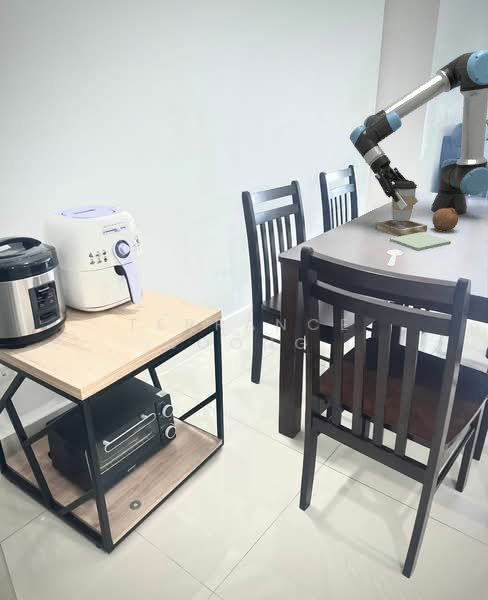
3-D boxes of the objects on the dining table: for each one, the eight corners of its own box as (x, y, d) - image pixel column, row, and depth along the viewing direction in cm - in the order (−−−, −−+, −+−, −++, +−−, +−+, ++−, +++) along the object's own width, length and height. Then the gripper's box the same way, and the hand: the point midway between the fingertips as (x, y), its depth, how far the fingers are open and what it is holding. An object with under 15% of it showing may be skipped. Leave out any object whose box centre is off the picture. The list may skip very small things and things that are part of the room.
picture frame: (401, 223, 187) (401, 218, 186) (426, 231, 175) (427, 225, 174) (375, 228, 182) (375, 222, 180) (399, 236, 170) (400, 230, 169)
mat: (421, 234, 172) (421, 232, 171) (450, 243, 160) (450, 241, 160) (389, 240, 166) (389, 238, 165) (417, 250, 154) (418, 248, 154)
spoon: (381, 266, 142) (382, 264, 142) (388, 249, 157) (388, 248, 157) (399, 268, 140) (399, 266, 140) (404, 251, 155) (404, 249, 155)
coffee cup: (414, 221, 172) (419, 182, 165) (390, 221, 173) (394, 182, 167) (411, 215, 180) (415, 178, 173) (388, 215, 181) (391, 178, 175)
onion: (451, 237, 178) (466, 215, 174) (443, 235, 171) (459, 213, 166) (431, 224, 183) (446, 203, 178) (423, 223, 176) (438, 201, 171)
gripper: (384, 163, 185) (416, 206, 182) (356, 170, 172) (389, 216, 168) (397, 151, 180) (430, 194, 176) (369, 157, 166) (403, 204, 162)
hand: (410, 205), depth 172 cm, fingers closed on coffee cup, 9 cm apart
